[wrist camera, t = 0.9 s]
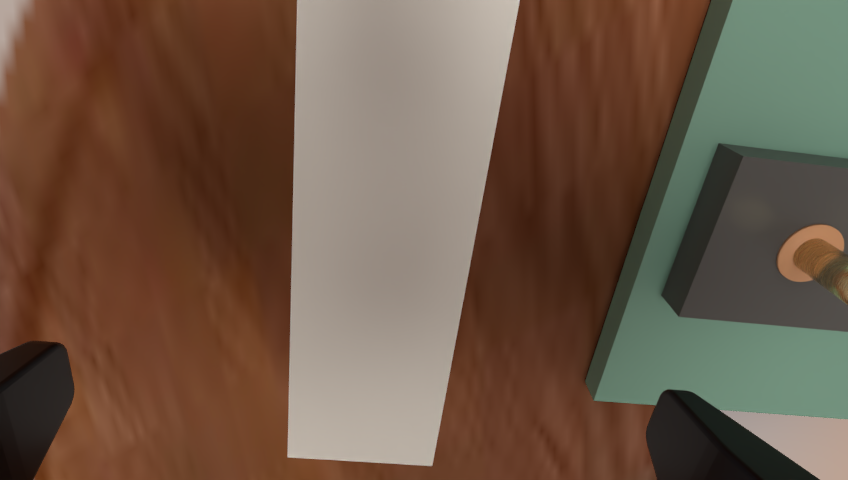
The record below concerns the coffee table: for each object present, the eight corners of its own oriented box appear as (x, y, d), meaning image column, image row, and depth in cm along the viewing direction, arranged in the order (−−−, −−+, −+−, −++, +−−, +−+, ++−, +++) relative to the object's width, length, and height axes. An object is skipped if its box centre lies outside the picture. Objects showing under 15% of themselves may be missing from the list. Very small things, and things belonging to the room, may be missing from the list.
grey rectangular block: (493, -60, 13) (533, -75, 9) (425, 360, 19) (432, 466, 15) (331, -83, 13) (299, -111, 9) (312, 351, 19) (287, 457, 15)
